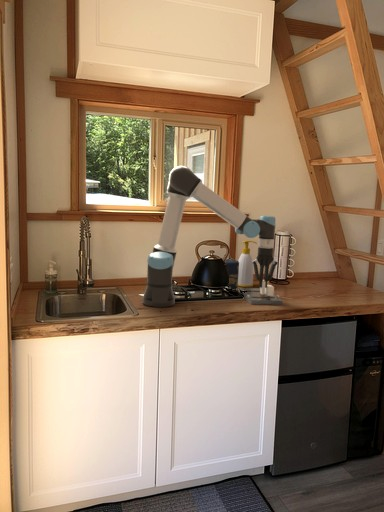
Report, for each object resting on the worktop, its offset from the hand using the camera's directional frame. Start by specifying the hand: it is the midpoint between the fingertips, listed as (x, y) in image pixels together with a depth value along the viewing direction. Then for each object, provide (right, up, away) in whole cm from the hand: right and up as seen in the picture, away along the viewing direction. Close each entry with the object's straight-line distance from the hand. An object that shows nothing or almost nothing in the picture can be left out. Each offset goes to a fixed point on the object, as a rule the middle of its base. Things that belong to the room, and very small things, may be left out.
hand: (262, 293), depth 217 cm
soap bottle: (-5, +2, +36) cm, 36 cm away
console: (-1, -3, +8) cm, 8 cm away
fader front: (+3, -2, +1) cm, 4 cm away
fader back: (+3, 0, +14) cm, 14 cm away
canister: (-15, 0, +18) cm, 24 cm away
